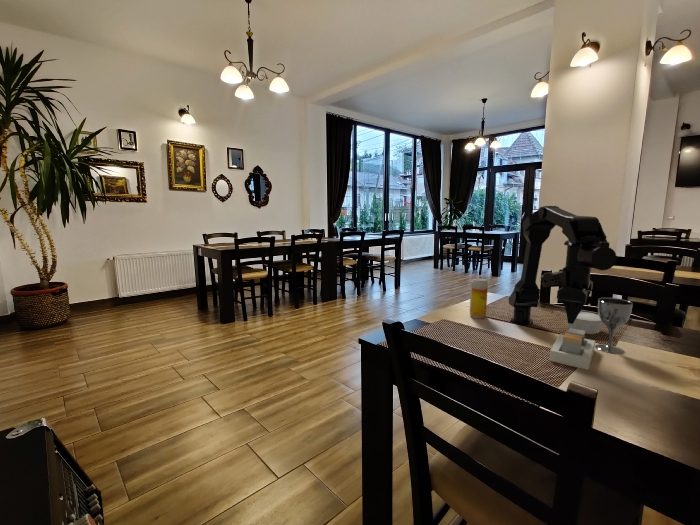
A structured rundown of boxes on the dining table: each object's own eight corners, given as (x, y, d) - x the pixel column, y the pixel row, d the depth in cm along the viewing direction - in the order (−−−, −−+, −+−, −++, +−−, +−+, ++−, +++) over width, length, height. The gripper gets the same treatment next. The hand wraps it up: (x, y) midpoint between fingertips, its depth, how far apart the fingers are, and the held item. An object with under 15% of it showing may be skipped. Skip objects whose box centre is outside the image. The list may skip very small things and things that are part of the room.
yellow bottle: (487, 319, 129) (489, 281, 127) (470, 318, 131) (472, 280, 128) (484, 314, 135) (486, 278, 133) (468, 313, 136) (470, 277, 134)
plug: (563, 352, 97) (565, 332, 96) (580, 356, 94) (582, 335, 93) (561, 357, 93) (563, 336, 93) (578, 361, 91) (580, 340, 90)
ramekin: (579, 323, 124) (581, 309, 123) (611, 333, 114) (613, 318, 113) (557, 326, 121) (558, 312, 120) (587, 337, 110) (588, 322, 109)
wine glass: (619, 345, 103) (625, 298, 101) (631, 356, 96) (638, 305, 93) (589, 342, 106) (594, 296, 103) (598, 352, 98) (604, 303, 96)
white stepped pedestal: (559, 343, 106) (560, 324, 105) (594, 350, 100) (596, 330, 99) (549, 360, 94) (551, 339, 93) (588, 370, 88) (590, 348, 87)
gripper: (550, 257, 102) (546, 306, 105) (537, 265, 88) (532, 321, 91) (595, 260, 95) (589, 312, 98) (588, 269, 81) (582, 331, 84)
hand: (572, 319), depth 93 cm, fingers open, 9 cm apart
